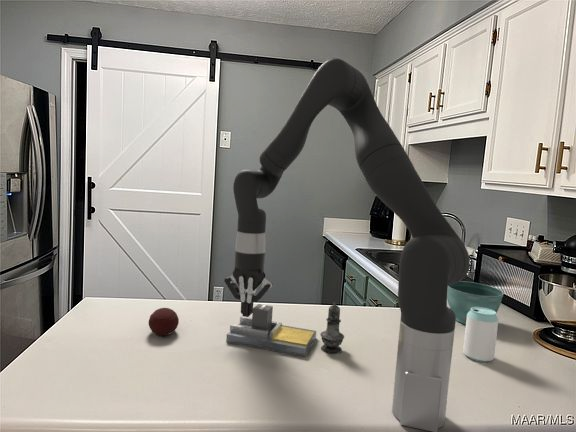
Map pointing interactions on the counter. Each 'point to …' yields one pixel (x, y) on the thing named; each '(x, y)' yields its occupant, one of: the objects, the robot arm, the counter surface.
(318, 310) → the counter surface
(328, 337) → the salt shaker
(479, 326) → the can
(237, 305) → the counter surface
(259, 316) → the block
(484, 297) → the teal bowl
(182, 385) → the counter surface
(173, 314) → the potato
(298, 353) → the board
